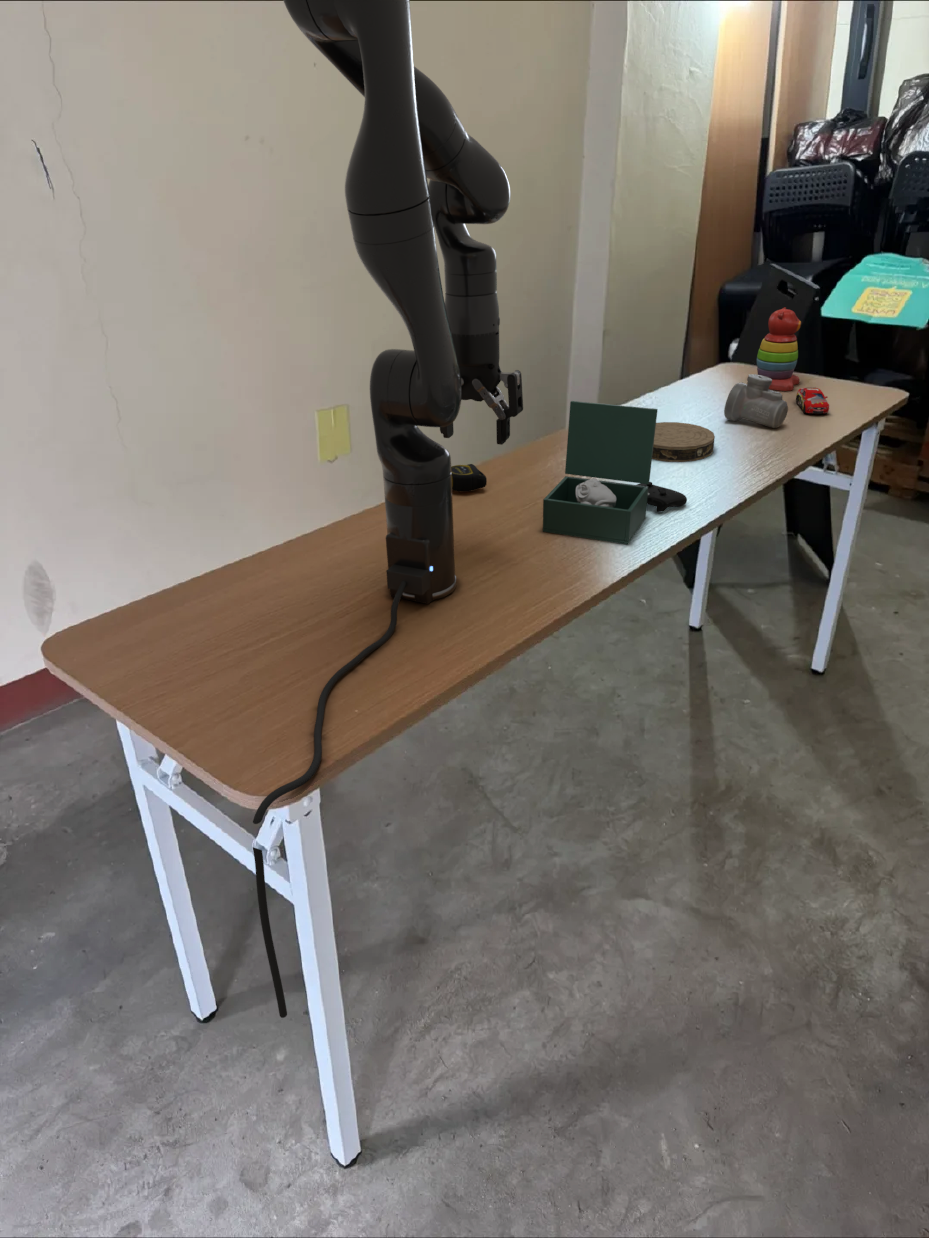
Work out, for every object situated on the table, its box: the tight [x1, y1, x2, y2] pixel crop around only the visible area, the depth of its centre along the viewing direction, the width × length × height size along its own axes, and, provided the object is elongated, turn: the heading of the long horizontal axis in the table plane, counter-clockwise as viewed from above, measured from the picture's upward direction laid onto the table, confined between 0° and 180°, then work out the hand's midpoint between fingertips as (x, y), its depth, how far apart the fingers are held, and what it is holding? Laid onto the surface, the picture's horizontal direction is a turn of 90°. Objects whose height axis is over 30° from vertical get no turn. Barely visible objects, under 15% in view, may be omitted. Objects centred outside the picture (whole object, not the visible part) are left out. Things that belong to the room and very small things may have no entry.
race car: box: [795, 387, 830, 415], centre depth 194 cm, size 13×5×4 cm, turn 171°
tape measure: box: [451, 463, 488, 493], centre depth 157 cm, size 7×7×4 cm
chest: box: [542, 475, 648, 545], centre depth 141 cm, size 11×14×6 cm
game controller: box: [636, 481, 688, 513], centre depth 148 cm, size 10×5×6 cm
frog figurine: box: [576, 478, 616, 508], centre depth 140 cm, size 6×7×7 cm
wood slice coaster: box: [652, 421, 716, 463], centre depth 173 cm, size 16×16×3 cm
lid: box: [564, 400, 658, 484], centre depth 141 cm, size 12×14×1 cm
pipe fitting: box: [723, 373, 789, 429], centre depth 184 cm, size 12×8×10 cm
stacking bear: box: [756, 307, 802, 392], centre depth 209 cm, size 11×10×18 cm
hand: (474, 439), depth 127 cm, fingers open, 8 cm apart
